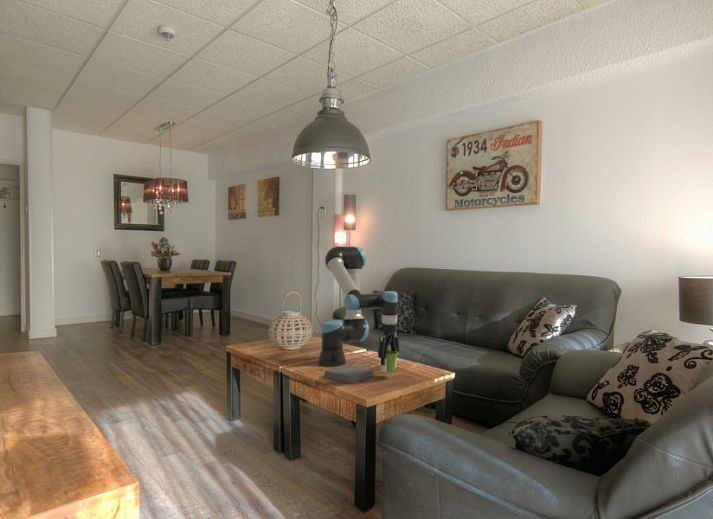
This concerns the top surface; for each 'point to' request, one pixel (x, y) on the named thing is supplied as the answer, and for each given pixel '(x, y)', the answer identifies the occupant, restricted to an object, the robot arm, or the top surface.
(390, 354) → the plant pot
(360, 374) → the board
